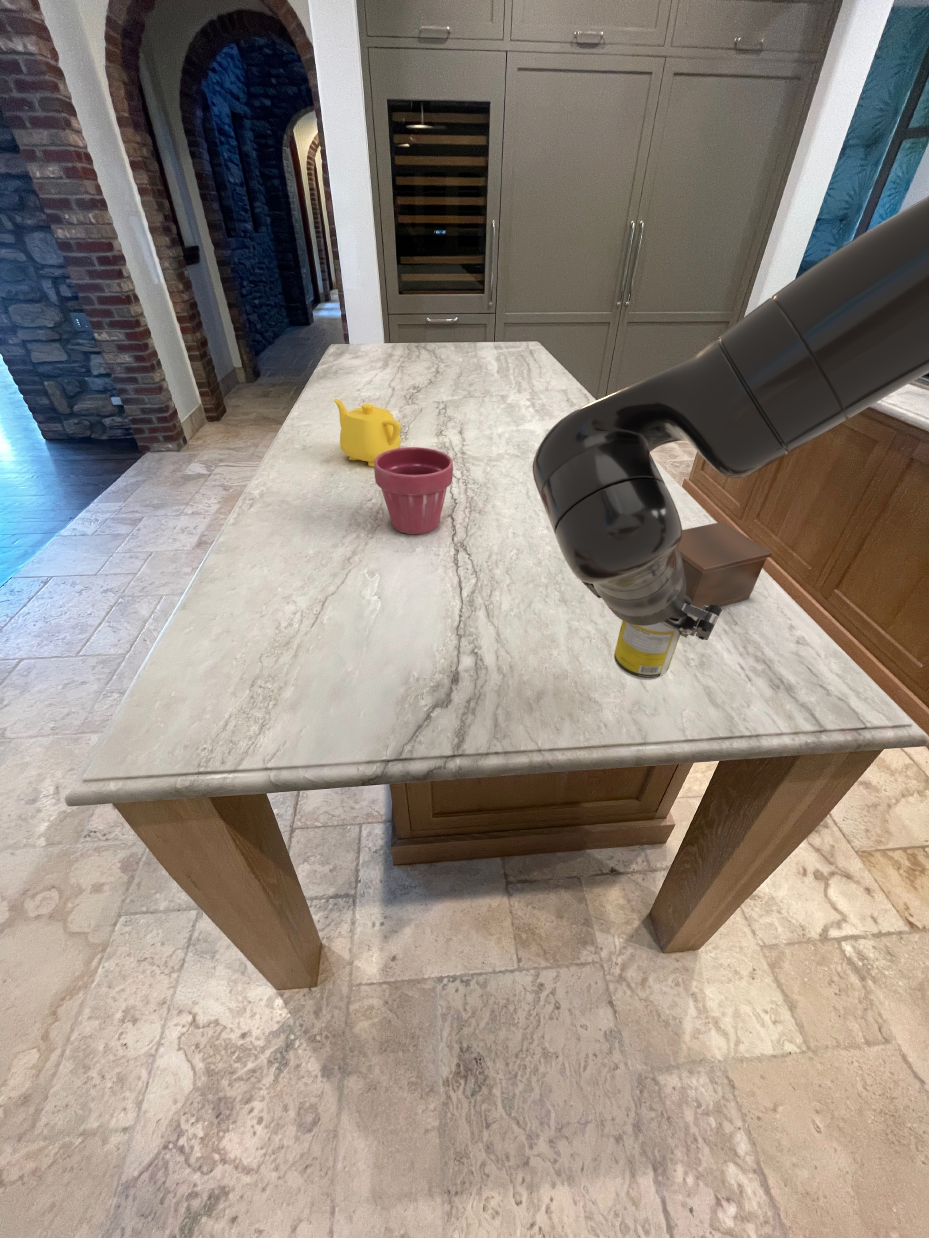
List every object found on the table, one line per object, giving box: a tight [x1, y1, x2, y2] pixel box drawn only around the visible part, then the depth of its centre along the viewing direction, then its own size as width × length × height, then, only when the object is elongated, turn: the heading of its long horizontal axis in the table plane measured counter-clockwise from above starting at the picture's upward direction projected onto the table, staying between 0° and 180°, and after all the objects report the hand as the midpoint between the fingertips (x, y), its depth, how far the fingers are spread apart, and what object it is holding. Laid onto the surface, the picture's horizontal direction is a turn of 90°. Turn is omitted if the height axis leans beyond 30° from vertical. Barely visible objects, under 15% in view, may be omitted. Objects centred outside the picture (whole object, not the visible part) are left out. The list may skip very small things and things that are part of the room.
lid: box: [677, 521, 773, 573], centre depth 84 cm, size 13×11×1 cm
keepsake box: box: [682, 558, 767, 609], centre depth 86 cm, size 13×11×8 cm
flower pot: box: [373, 446, 454, 535], centre depth 101 cm, size 14×14×13 cm
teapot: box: [333, 398, 402, 467], centre depth 127 cm, size 13×20×12 cm
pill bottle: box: [613, 618, 681, 681], centre depth 61 cm, size 6×6×12 cm
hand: (657, 616), depth 62 cm, fingers closed on pill bottle, 6 cm apart
